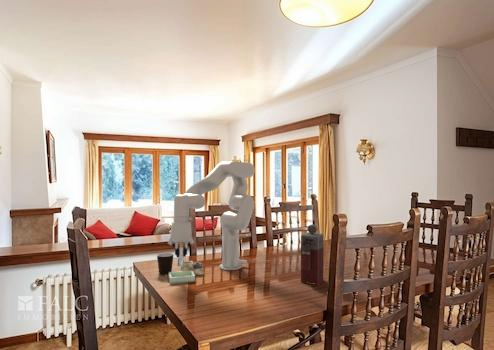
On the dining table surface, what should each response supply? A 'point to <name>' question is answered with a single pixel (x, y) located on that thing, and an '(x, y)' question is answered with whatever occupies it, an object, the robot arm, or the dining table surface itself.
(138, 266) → the dining table surface
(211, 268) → the dining table surface
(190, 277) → the tray
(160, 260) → the coffee mug
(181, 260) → the pin
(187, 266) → the pulley block
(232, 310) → the dining table surface
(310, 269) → the dark red bottle
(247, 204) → the robot arm
